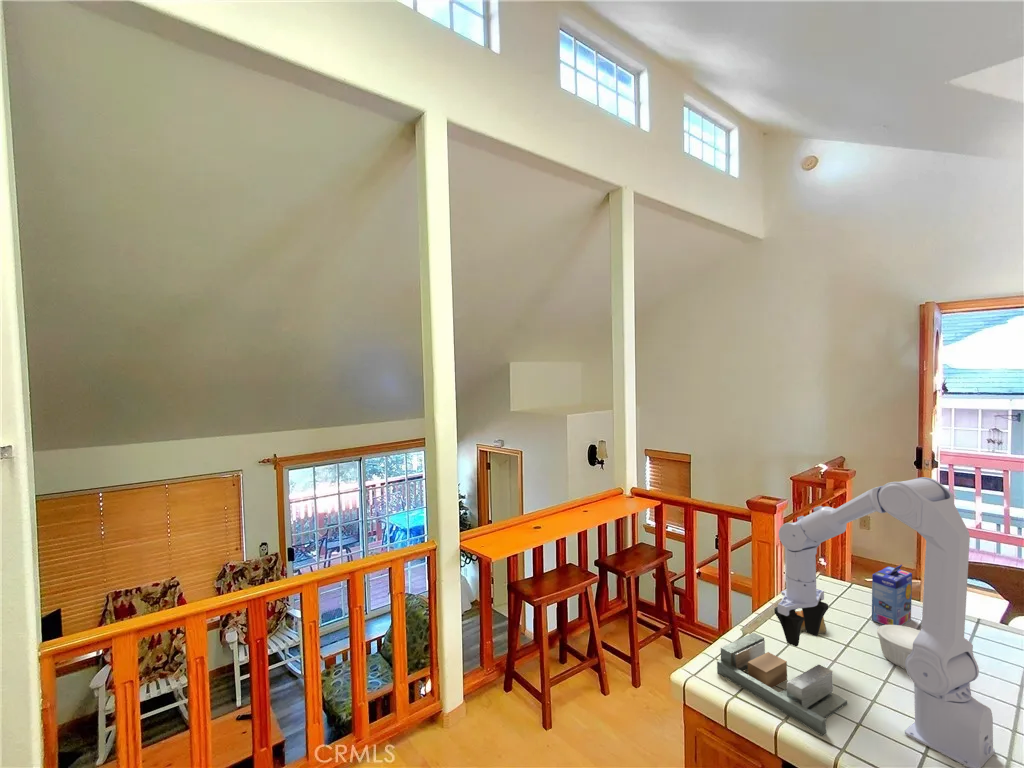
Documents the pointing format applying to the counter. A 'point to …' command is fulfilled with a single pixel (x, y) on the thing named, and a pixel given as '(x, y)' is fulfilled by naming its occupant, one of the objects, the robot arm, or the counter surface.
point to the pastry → (800, 613)
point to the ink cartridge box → (891, 596)
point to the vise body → (737, 661)
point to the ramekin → (897, 642)
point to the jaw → (810, 686)
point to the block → (768, 669)
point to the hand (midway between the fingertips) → (802, 639)
